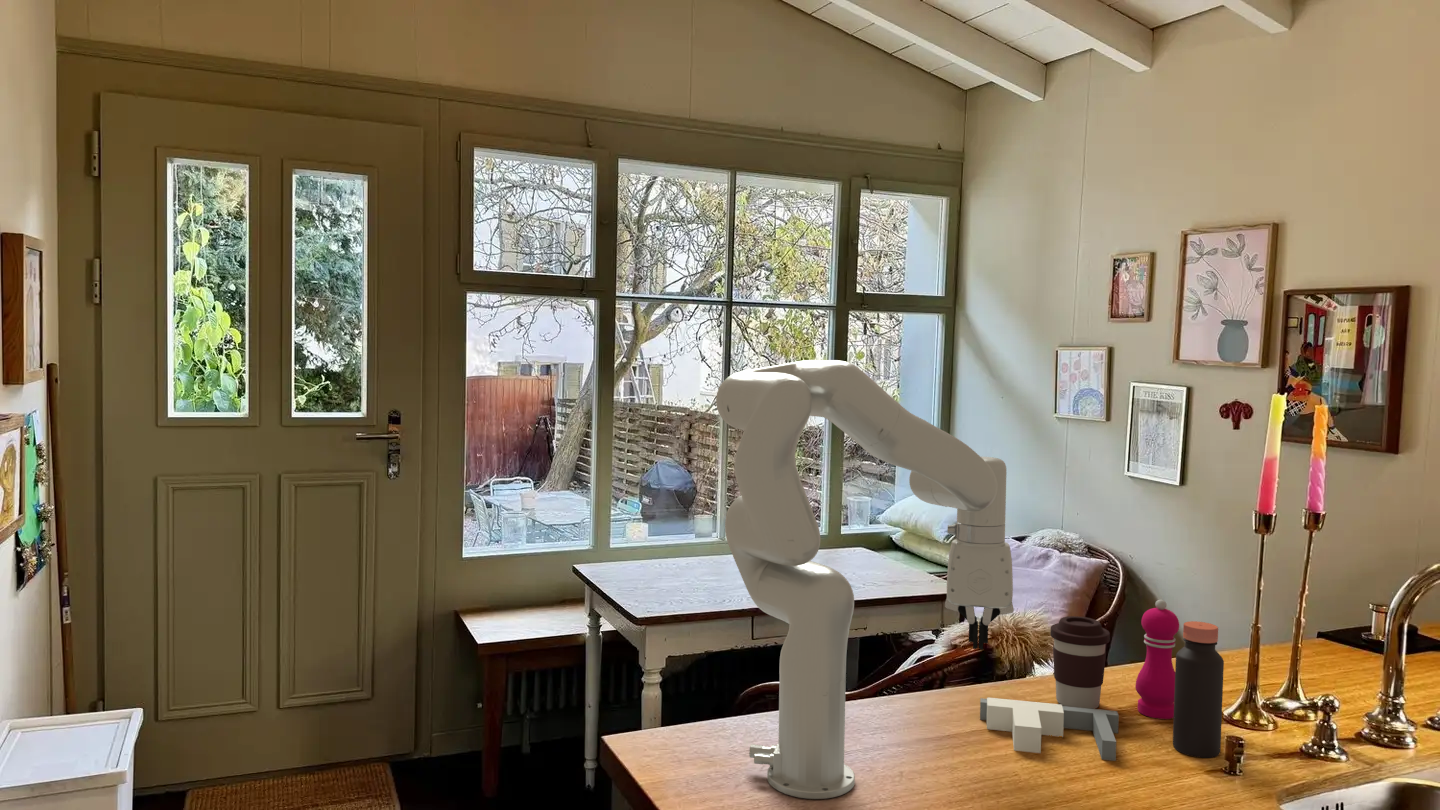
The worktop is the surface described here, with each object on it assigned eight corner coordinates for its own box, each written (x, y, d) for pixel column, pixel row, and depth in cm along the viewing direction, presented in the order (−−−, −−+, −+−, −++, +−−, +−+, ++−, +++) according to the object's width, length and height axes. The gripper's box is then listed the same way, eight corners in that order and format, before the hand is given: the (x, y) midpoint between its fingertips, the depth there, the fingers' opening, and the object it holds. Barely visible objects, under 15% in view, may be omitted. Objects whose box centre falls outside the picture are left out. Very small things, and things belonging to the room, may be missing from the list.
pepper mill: (1184, 722, 167) (1189, 606, 166) (1139, 718, 168) (1143, 603, 167) (1174, 707, 174) (1178, 596, 173) (1130, 704, 175) (1134, 593, 174)
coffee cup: (1112, 701, 177) (1115, 619, 176) (1101, 717, 168) (1103, 631, 168) (1056, 690, 182) (1058, 610, 181) (1042, 706, 174) (1044, 622, 173)
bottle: (1182, 738, 159) (1186, 617, 158) (1226, 750, 155) (1231, 625, 154) (1165, 749, 155) (1170, 624, 154) (1211, 762, 150) (1216, 634, 149)
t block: (987, 747, 155) (988, 722, 155) (986, 720, 166) (987, 697, 166) (1067, 756, 152) (1068, 730, 152) (1060, 728, 163) (1061, 704, 163)
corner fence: (980, 746, 155) (981, 727, 155) (979, 715, 169) (980, 698, 168) (1129, 762, 150) (1130, 743, 150) (1116, 728, 163) (1116, 711, 163)
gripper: (931, 535, 155) (929, 649, 156) (1030, 541, 151) (1027, 657, 152) (934, 527, 162) (931, 636, 163) (1028, 532, 159) (1025, 644, 160)
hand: (978, 646), depth 158 cm, fingers closed
